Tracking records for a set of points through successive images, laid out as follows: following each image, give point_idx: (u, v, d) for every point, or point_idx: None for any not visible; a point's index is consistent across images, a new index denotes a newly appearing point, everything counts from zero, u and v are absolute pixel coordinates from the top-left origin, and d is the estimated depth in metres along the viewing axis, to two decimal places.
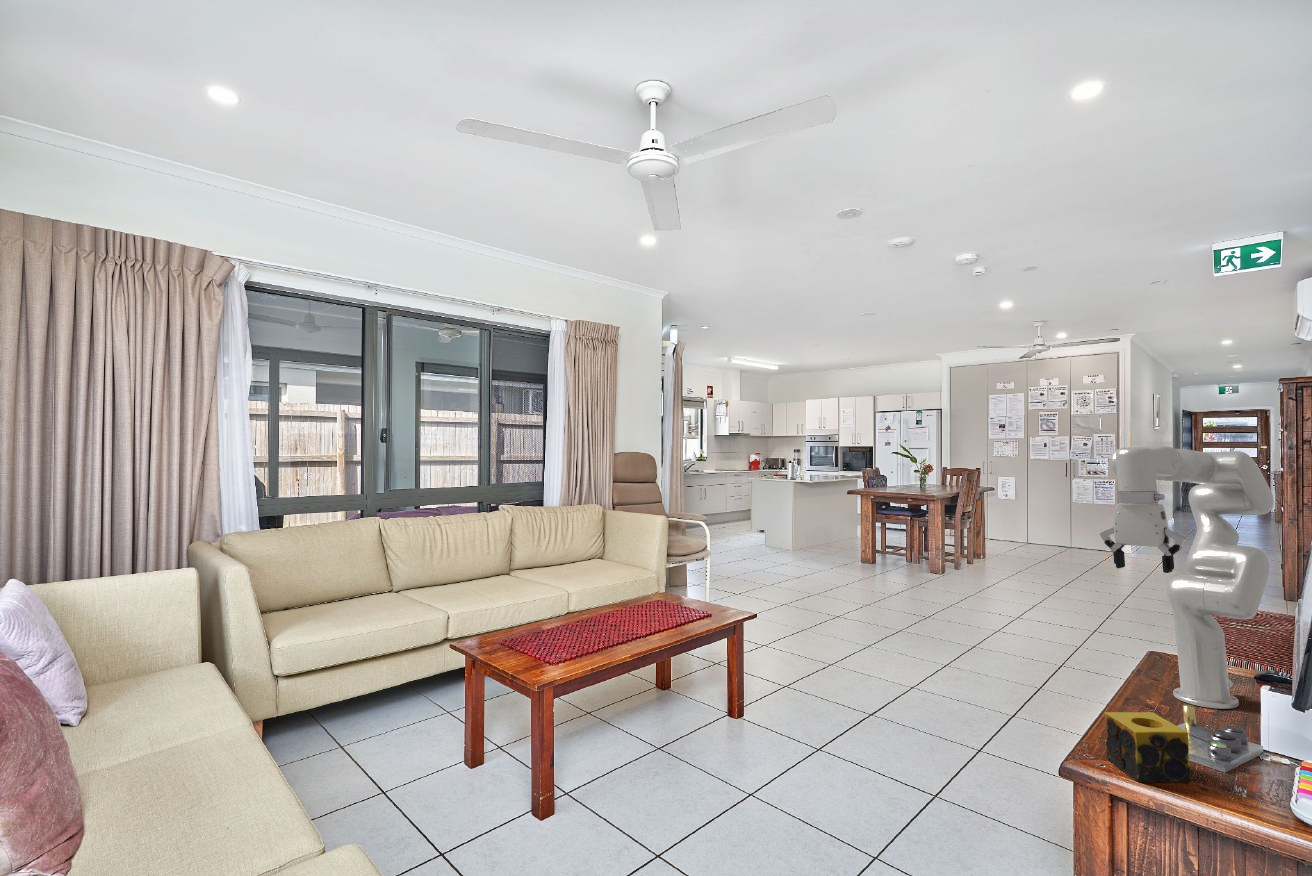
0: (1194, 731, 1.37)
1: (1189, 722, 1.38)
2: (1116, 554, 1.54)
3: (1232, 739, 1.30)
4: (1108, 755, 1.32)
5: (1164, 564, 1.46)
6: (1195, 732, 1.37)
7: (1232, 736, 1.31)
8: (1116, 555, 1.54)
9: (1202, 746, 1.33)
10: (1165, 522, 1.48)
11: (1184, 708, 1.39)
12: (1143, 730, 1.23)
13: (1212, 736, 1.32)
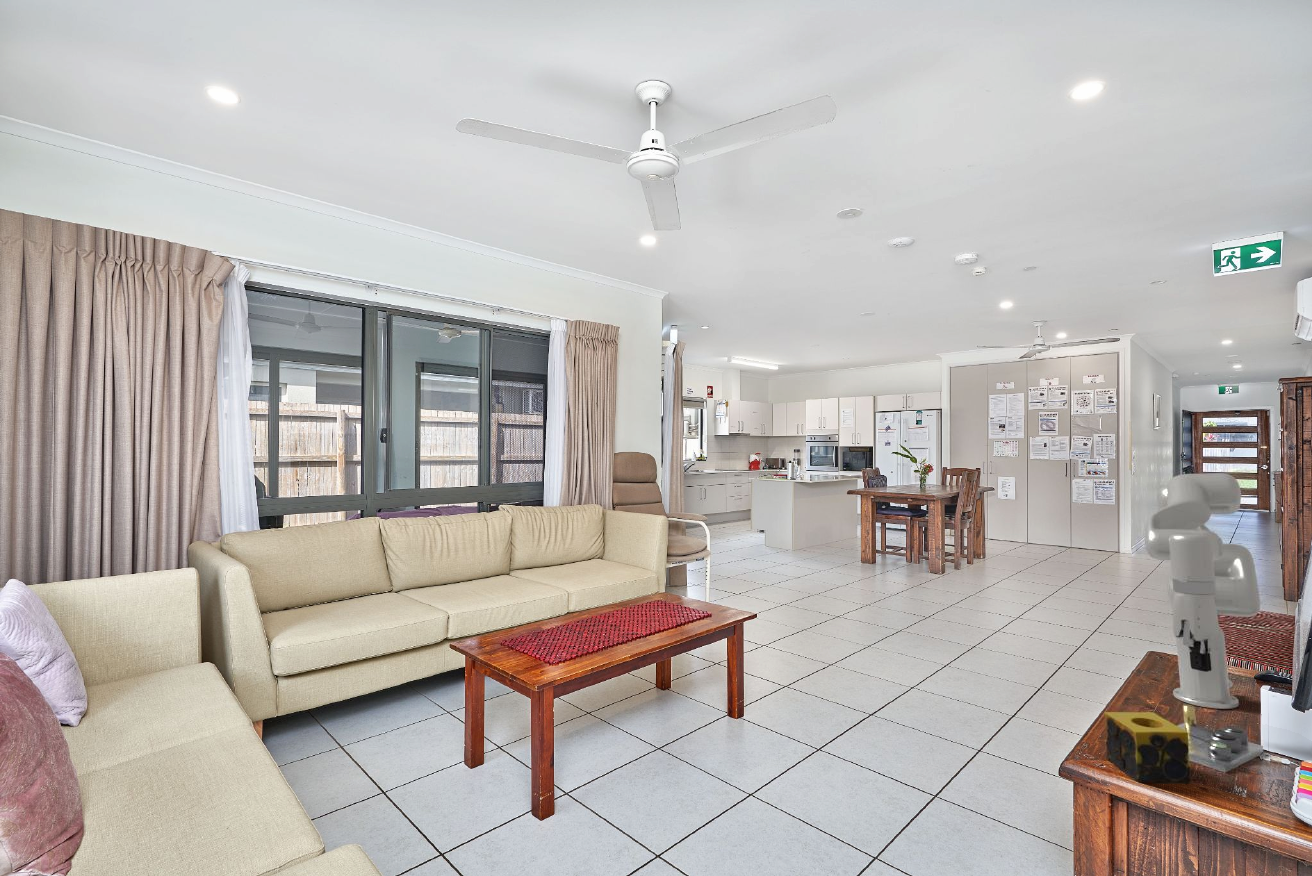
0: (1194, 731, 1.37)
1: (1189, 722, 1.38)
2: (1207, 656, 1.41)
3: (1232, 739, 1.30)
4: (1108, 755, 1.32)
5: (1210, 662, 1.41)
6: (1195, 732, 1.37)
7: (1232, 736, 1.31)
8: (1207, 657, 1.41)
9: (1202, 746, 1.33)
10: None
11: (1184, 708, 1.39)
12: (1143, 730, 1.23)
13: (1212, 736, 1.32)
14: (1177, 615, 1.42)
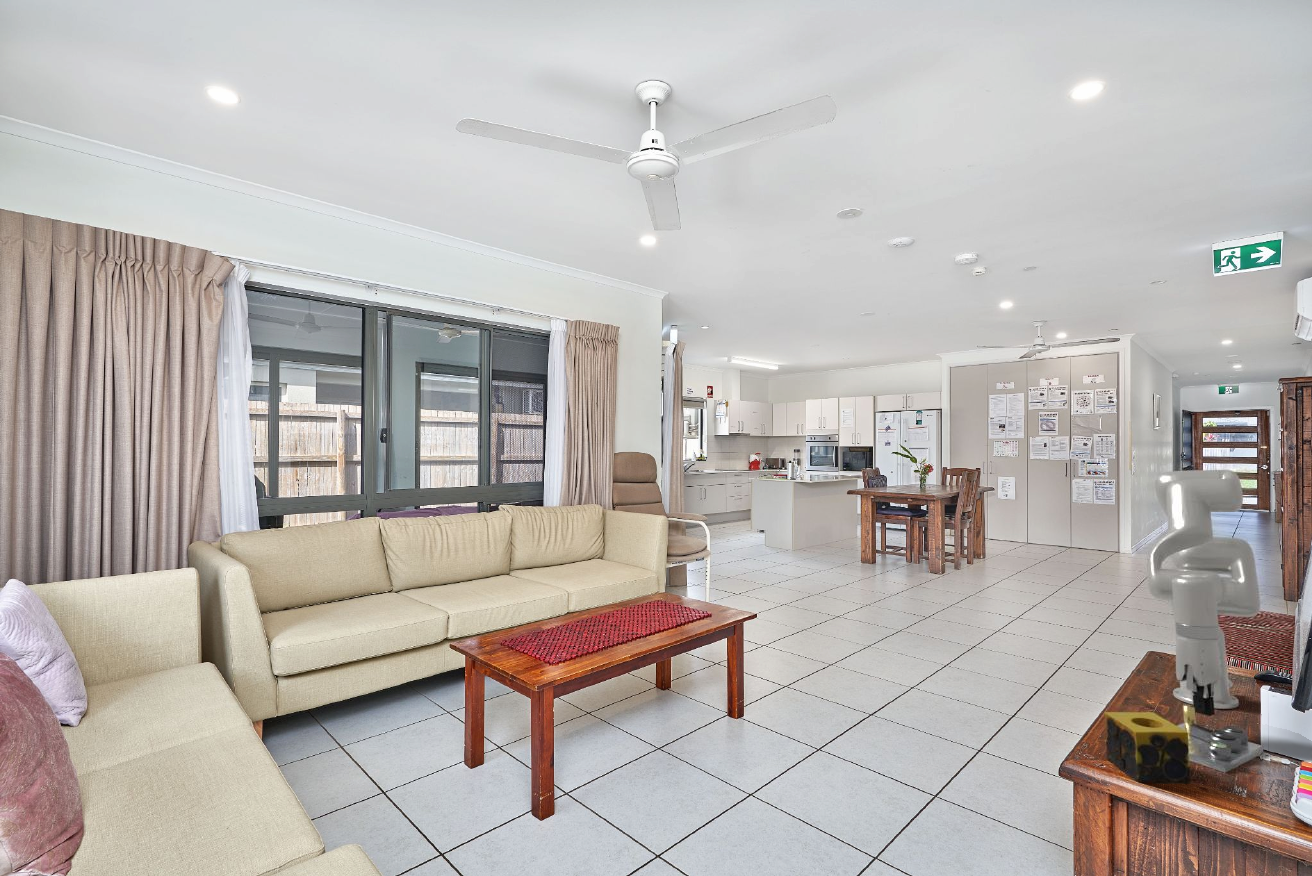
0: (1194, 731, 1.37)
1: (1189, 722, 1.38)
2: (1210, 700, 1.40)
3: (1232, 739, 1.30)
4: (1108, 755, 1.32)
5: (1213, 706, 1.41)
6: (1195, 732, 1.37)
7: (1232, 736, 1.31)
8: (1210, 701, 1.40)
9: (1202, 746, 1.33)
10: None
11: (1184, 708, 1.39)
12: (1143, 730, 1.23)
13: (1212, 736, 1.32)
14: (1180, 659, 1.41)
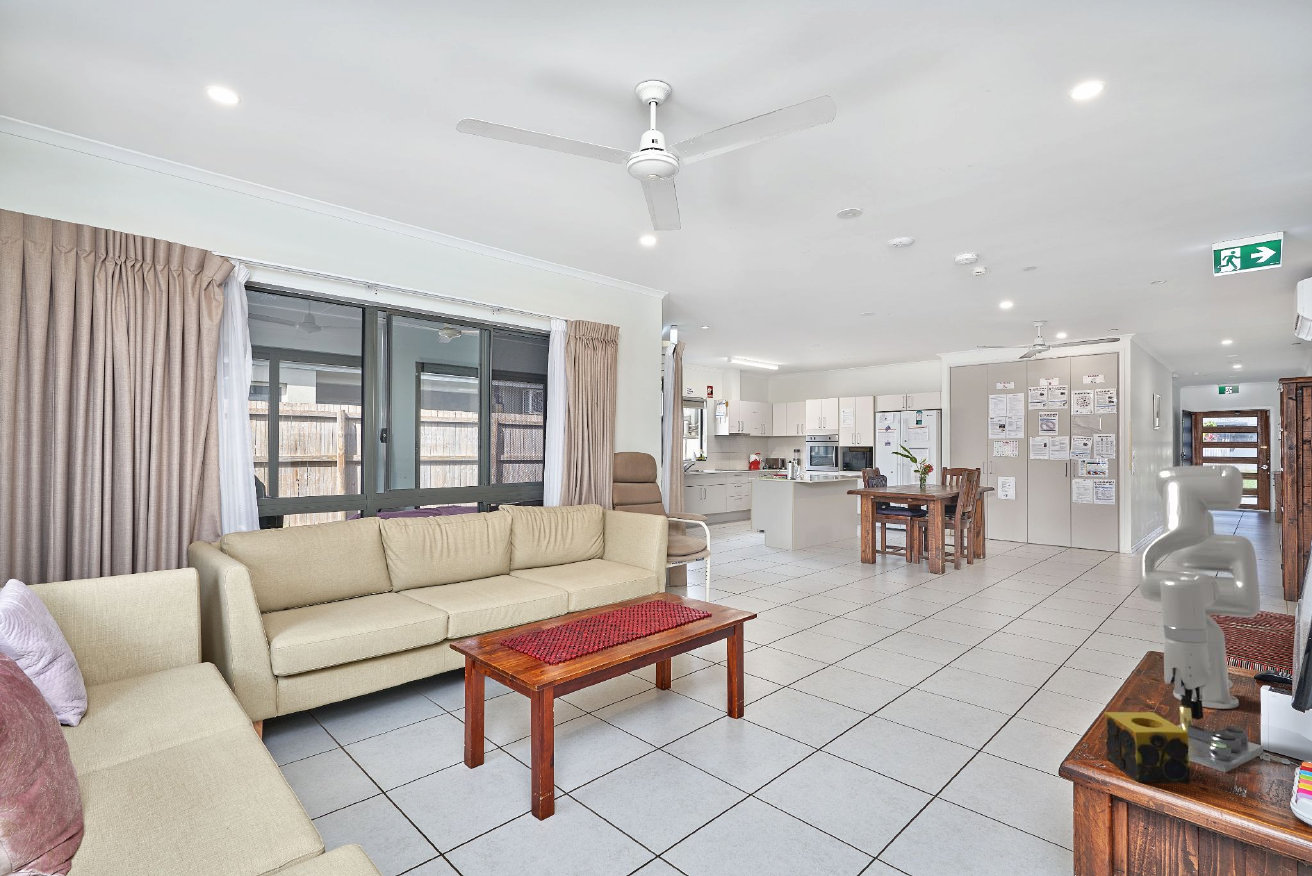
0: (1191, 731, 1.37)
1: (1186, 723, 1.38)
2: (1199, 704, 1.39)
3: (1233, 739, 1.30)
4: (1108, 755, 1.32)
5: (1201, 709, 1.39)
6: (1193, 733, 1.37)
7: (1233, 736, 1.31)
8: (1199, 705, 1.39)
9: (1202, 746, 1.33)
10: None
11: (1181, 709, 1.39)
12: (1143, 730, 1.23)
13: (1213, 737, 1.32)
14: (1168, 663, 1.40)
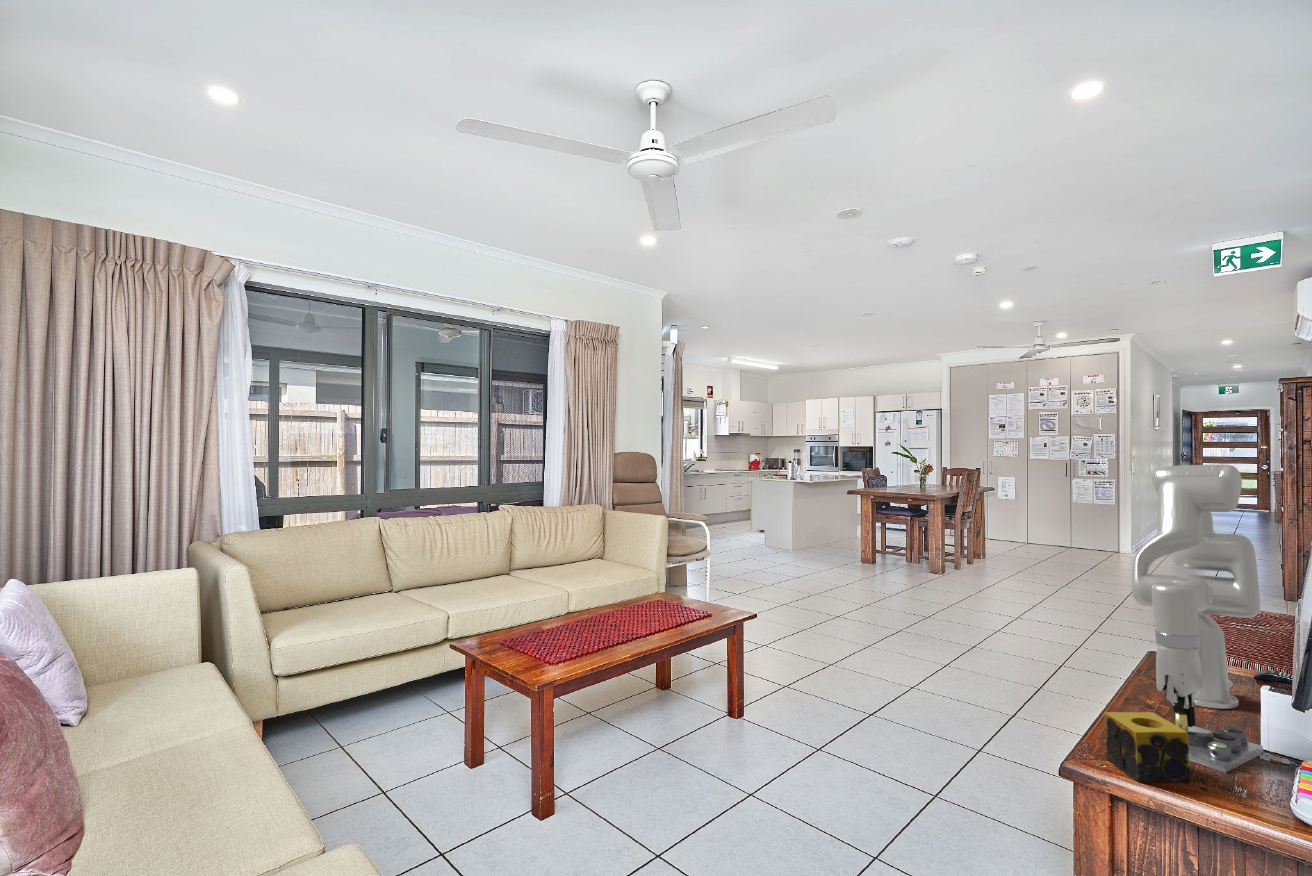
0: (1192, 738, 1.34)
1: None
2: (1191, 711, 1.36)
3: (1235, 737, 1.31)
4: (1108, 755, 1.32)
5: (1194, 716, 1.36)
6: (1193, 740, 1.34)
7: (1232, 734, 1.32)
8: (1191, 712, 1.36)
9: (1202, 746, 1.33)
10: None
11: (1181, 717, 1.35)
12: (1143, 730, 1.23)
13: (1222, 740, 1.31)
14: (1160, 670, 1.37)
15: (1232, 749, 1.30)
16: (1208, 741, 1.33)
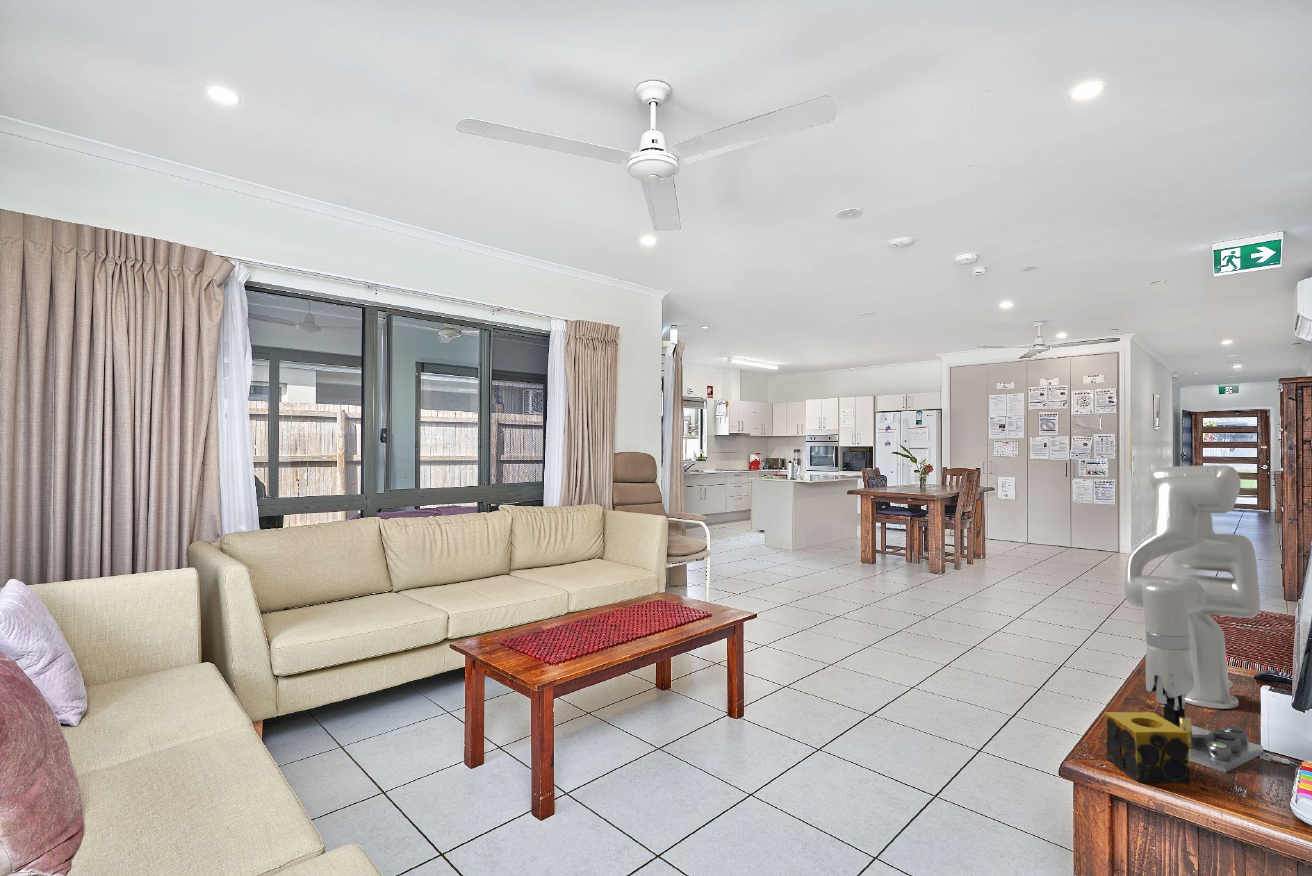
0: (1196, 741, 1.32)
1: (1191, 734, 1.32)
2: (1181, 713, 1.35)
3: None
4: (1108, 755, 1.32)
5: None
6: (1198, 742, 1.32)
7: (1230, 733, 1.32)
8: (1181, 714, 1.35)
9: None
10: None
11: (1186, 721, 1.33)
12: (1142, 730, 1.23)
13: (1226, 740, 1.30)
14: (1150, 670, 1.36)
15: (1235, 749, 1.29)
16: None
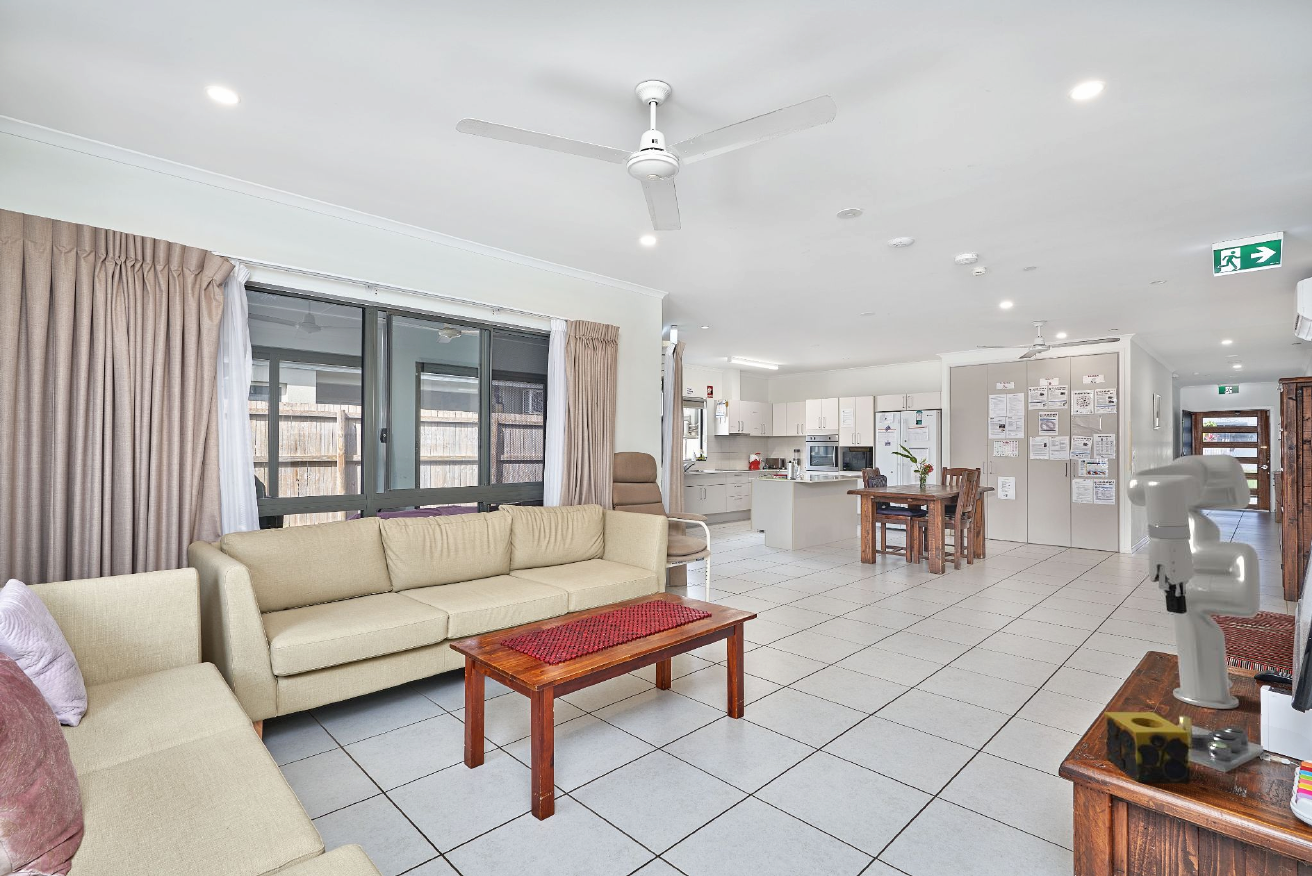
0: (1196, 741, 1.32)
1: (1191, 734, 1.32)
2: (1182, 598, 1.42)
3: None
4: (1108, 755, 1.32)
5: (1185, 604, 1.43)
6: (1198, 743, 1.32)
7: (1230, 733, 1.32)
8: (1182, 600, 1.42)
9: None
10: None
11: (1186, 721, 1.33)
12: (1143, 730, 1.23)
13: (1226, 740, 1.30)
14: (1153, 560, 1.43)
15: (1235, 749, 1.29)
16: None
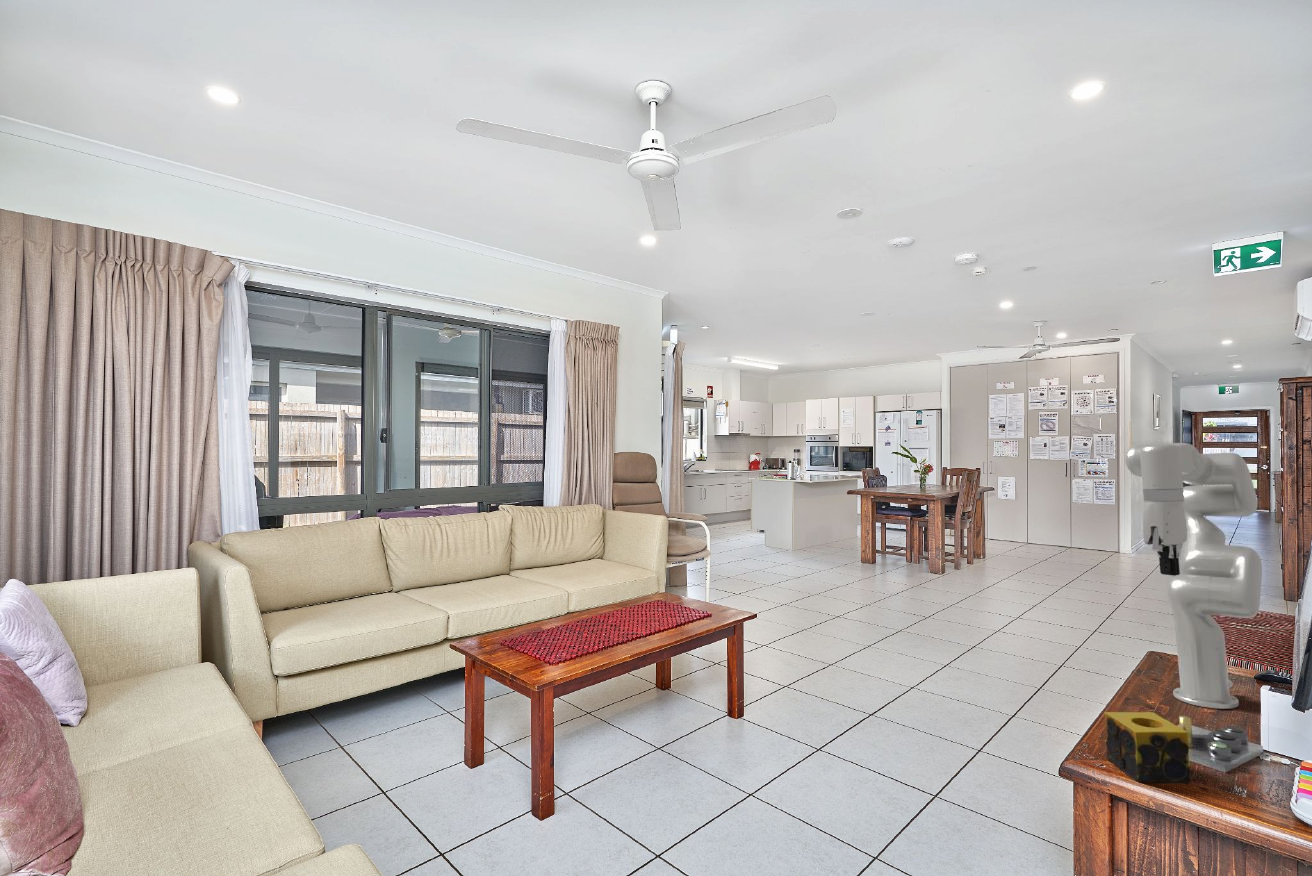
0: (1196, 741, 1.32)
1: (1191, 734, 1.32)
2: (1175, 560, 1.46)
3: None
4: (1108, 755, 1.32)
5: (1178, 566, 1.47)
6: (1198, 743, 1.32)
7: (1230, 733, 1.32)
8: (1175, 562, 1.46)
9: None
10: None
11: (1186, 721, 1.33)
12: (1143, 730, 1.23)
13: (1226, 740, 1.30)
14: (1147, 522, 1.48)
15: (1235, 749, 1.29)
16: None
